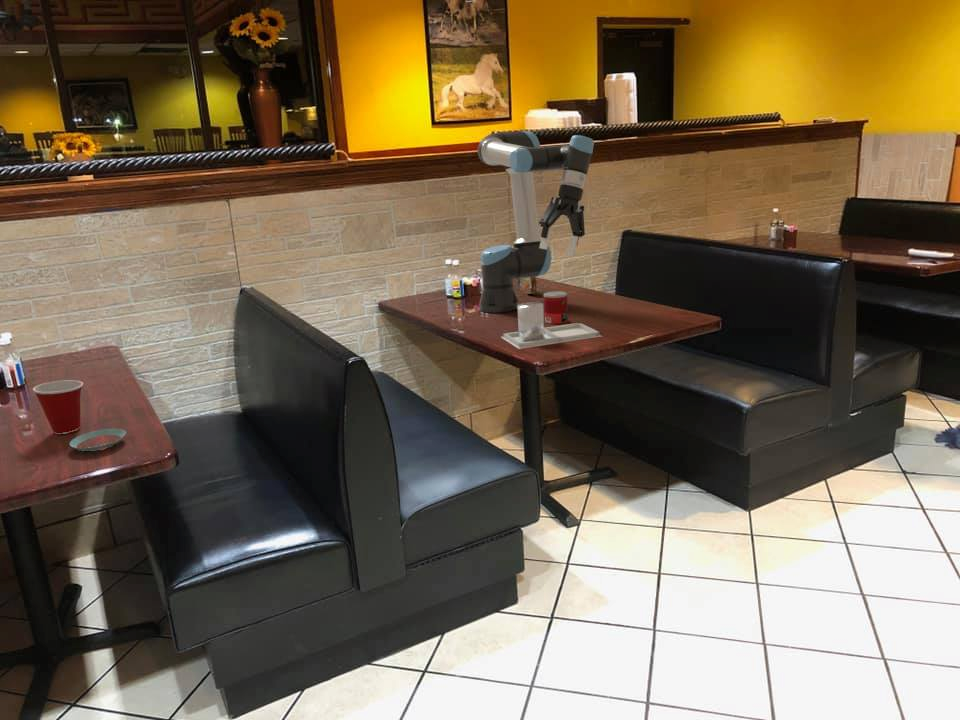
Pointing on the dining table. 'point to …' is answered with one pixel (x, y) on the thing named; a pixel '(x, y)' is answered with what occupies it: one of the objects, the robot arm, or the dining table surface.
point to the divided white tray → (555, 335)
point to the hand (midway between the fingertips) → (556, 252)
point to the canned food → (555, 307)
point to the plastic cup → (61, 404)
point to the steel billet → (530, 321)
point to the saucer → (93, 434)
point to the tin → (528, 284)
